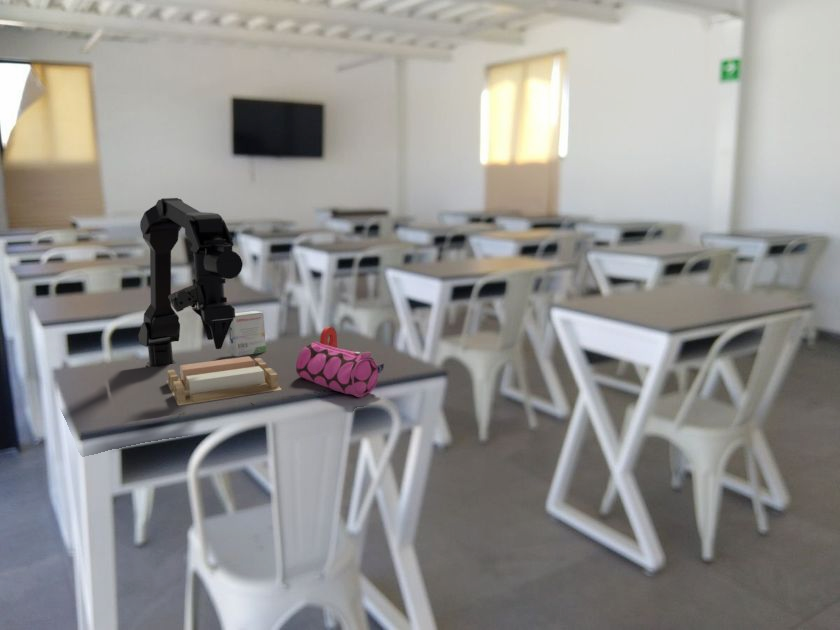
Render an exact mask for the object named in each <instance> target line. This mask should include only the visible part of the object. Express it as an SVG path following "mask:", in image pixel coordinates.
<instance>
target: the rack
mask: <svg viewBox="0 0 840 630" xmlns="http://www.w3.org/2000/svg"><path fill="white" fill-rule="evenodd" d="M253 360H254V367H256V366H259V367H260V368H261V369H262V370H263V371H264V381H265V383H262V384H256V385H249V386H242V387H236V388H229V389H222V390H215V391H209V392H202V393H195V394H191V395H192V399H190V397H189V395H188V393H187V382H184V384H185V387H184V386H183V384H182V382H181V373H179V375H178V374H177V372H176V371H175V369H169V370H167V380H165V381H166V384H167V385H168V387H169V390H170V392H171V393H172V396H173V398H174V399H175V400H174V401H176V404H177V405H178V407H179V406H185V405H193V404H198V403H205V402H210V401H218V400H225V399H230V398H236V397H244V396H249V395H255V394H261V393H269V392H270V393H271V392H275V391H282V390H283V389H282V388H281V387H280V386H279V376H278V375H279V374H278V373H277V372H276V371H275V370H274V369H273V368H272V367H268V366H267V363H266V362H265V361H264V360H263V358H261V357H258V358H254V359H253Z"/></svg>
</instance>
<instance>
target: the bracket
mask: <svg viewBox="0 0 840 630" xmlns="http://www.w3.org/2000/svg"><path fill="white" fill-rule="evenodd" d="M328 340H329V341H328ZM319 343H321V344H323V345H327V346H331V347H335V348H338V334H337V331H336V329H335V328H334V327H333V326H326V327H324V328H323V330H322V331H321V333H320V339H319Z"/></svg>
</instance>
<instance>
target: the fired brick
mask: <svg viewBox="0 0 840 630" xmlns="http://www.w3.org/2000/svg"><path fill="white" fill-rule="evenodd" d="M249 367H255V366H254V359H253V358H252V357H251V356H250V355H246V356H239V357H233V358H225V359H218V360H217V359H216V360H209V361H204V362H203V361H202V362H195V363H188V364H180V365H179V371H180V372H179V374H181V382H182V384H183V386H184V387H185V384H184V382H186V376H191V375H198V374H206V373H213V372H220V371H227V370H234V369H242V368H249Z"/></svg>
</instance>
